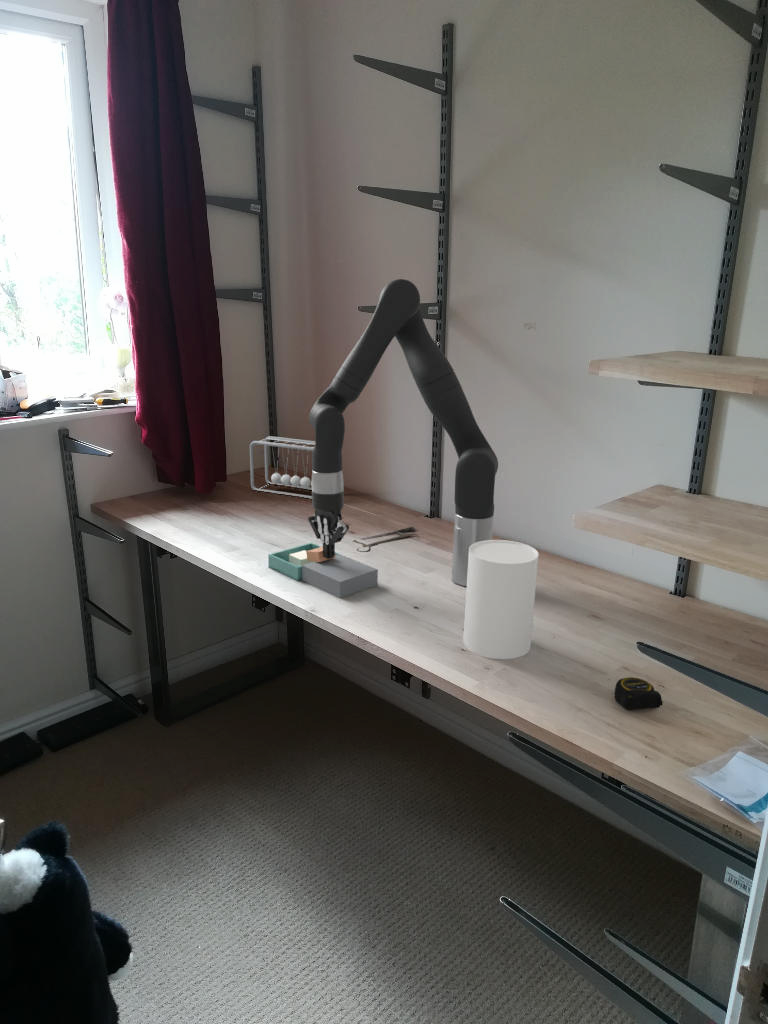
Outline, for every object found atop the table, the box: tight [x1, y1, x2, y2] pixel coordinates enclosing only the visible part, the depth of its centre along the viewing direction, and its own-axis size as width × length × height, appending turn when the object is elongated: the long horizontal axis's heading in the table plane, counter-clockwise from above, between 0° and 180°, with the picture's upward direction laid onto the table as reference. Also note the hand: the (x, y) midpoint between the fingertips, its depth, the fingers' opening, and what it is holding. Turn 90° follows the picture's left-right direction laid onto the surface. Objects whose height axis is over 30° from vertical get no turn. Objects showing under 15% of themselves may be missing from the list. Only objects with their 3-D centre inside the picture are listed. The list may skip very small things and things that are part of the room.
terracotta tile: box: [306, 546, 336, 562], centre depth 184 cm, size 5×5×2 cm
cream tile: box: [289, 550, 312, 566], centre depth 189 cm, size 5×5×2 cm
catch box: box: [267, 542, 340, 582], centre depth 189 cm, size 12×14×4 cm
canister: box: [462, 539, 540, 660], centre depth 149 cm, size 14×14×20 cm
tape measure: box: [614, 676, 664, 711], centre depth 130 cm, size 7×7×4 cm
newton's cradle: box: [249, 435, 315, 500], centre depth 253 cm, size 30×10×18 cm, turn 67°
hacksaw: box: [352, 526, 419, 553], centre depth 211 cm, size 24×10×2 cm, turn 122°
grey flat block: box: [301, 553, 379, 599], centre depth 179 cm, size 14×12×4 cm
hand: (328, 557), depth 181 cm, fingers closed
